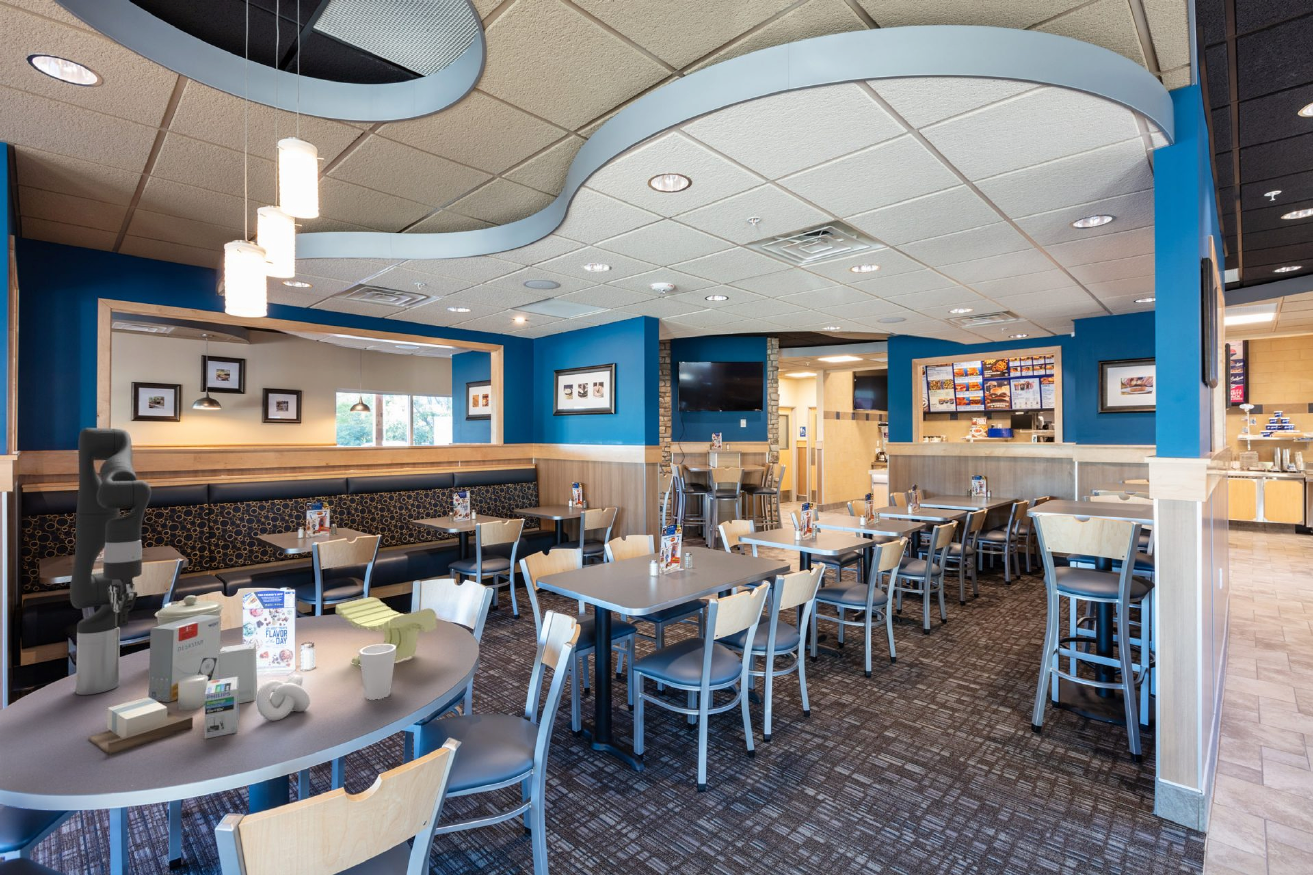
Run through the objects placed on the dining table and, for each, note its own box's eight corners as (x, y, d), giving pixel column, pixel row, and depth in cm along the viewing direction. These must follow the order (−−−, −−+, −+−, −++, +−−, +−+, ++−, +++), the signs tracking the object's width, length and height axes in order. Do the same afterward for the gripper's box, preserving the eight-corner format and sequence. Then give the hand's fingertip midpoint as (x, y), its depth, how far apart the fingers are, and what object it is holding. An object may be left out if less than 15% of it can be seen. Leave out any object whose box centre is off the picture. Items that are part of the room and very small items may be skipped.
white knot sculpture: (262, 708, 165) (262, 674, 165) (313, 701, 170) (313, 668, 170) (253, 725, 155) (254, 689, 155) (308, 717, 159) (308, 682, 159)
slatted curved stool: (436, 660, 202) (436, 606, 203) (393, 675, 189) (393, 617, 189) (378, 645, 218) (378, 594, 218) (335, 658, 204) (335, 604, 204)
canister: (148, 660, 202) (149, 596, 202) (214, 647, 216) (215, 586, 216) (161, 673, 190) (162, 605, 190) (230, 658, 204) (231, 594, 204)
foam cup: (403, 692, 176) (403, 646, 176) (376, 704, 167) (376, 656, 168) (379, 686, 180) (379, 642, 180) (351, 698, 171) (351, 651, 172)
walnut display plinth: (88, 739, 147) (88, 728, 147) (169, 714, 161) (169, 704, 161) (109, 754, 140) (109, 743, 140) (192, 727, 153) (192, 717, 153)
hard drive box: (169, 703, 168) (171, 629, 168) (147, 701, 170) (148, 628, 170) (220, 682, 183) (221, 614, 184) (199, 680, 185) (200, 613, 185)
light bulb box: (237, 732, 151) (238, 688, 151) (203, 739, 147) (204, 694, 147) (238, 716, 160) (239, 675, 160) (206, 723, 156) (207, 680, 156)
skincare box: (257, 694, 174) (258, 641, 175) (254, 702, 169) (255, 647, 169) (221, 699, 171) (222, 645, 171) (217, 707, 165) (218, 651, 166)
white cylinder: (173, 706, 166) (174, 680, 166) (201, 698, 171) (201, 673, 171) (183, 712, 163) (184, 685, 163) (211, 703, 168) (212, 677, 168)
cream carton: (107, 707, 152) (126, 719, 145) (148, 696, 158) (167, 707, 152) (107, 728, 152) (125, 741, 145) (147, 716, 158) (167, 727, 152)
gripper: (151, 559, 158) (149, 627, 158) (131, 553, 165) (130, 618, 165) (113, 563, 152) (111, 634, 151) (95, 557, 159) (93, 625, 159)
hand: (121, 626), depth 158 cm, fingers closed
